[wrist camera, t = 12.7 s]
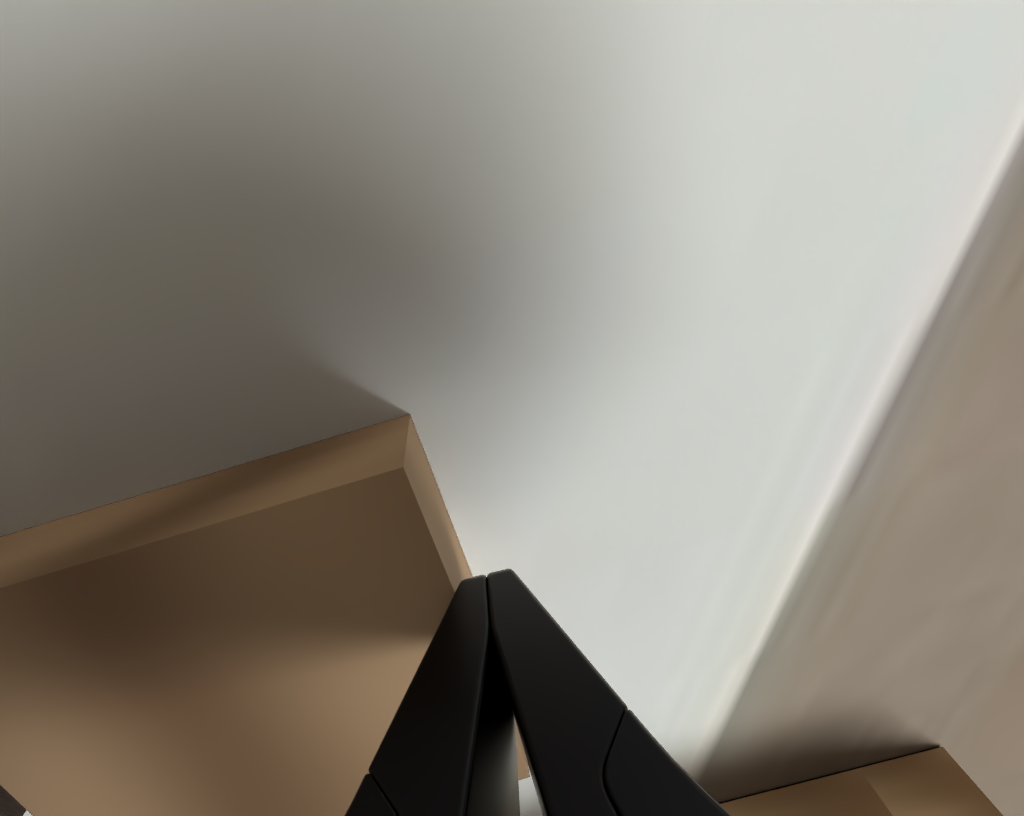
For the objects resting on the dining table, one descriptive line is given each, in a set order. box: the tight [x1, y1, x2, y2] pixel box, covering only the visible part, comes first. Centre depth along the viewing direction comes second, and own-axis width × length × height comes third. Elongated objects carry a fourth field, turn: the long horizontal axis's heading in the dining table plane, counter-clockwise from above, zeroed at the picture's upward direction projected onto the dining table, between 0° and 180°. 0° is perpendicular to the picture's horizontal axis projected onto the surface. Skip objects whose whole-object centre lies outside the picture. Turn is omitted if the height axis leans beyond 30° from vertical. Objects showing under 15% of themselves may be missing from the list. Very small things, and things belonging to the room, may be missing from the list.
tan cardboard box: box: [0, 414, 530, 816], centre depth 10 cm, size 8×7×2 cm
